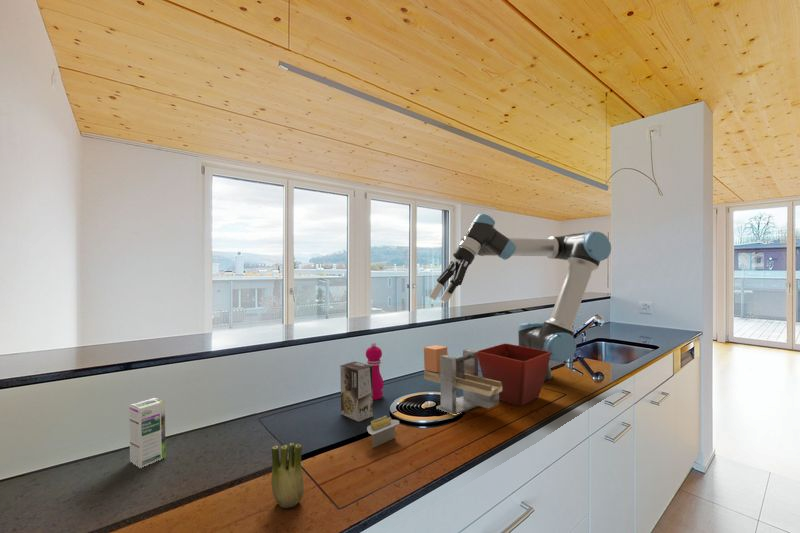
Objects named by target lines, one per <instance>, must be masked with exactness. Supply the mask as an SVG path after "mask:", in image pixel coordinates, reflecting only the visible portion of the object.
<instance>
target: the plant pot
mask: <svg viewBox="0 0 800 533" xmlns="http://www.w3.org/2000/svg"><path fill="white" fill-rule="evenodd" d="M477 351H478V364H479V367H480V371H481V374H482V377H483V378H487V379H491V380H496V381H500V382H502V392H499V401H503V402H505V403H509V404H512V405H515V406H519V407H522V406H524V405H527V404H529V403H530V402H532V401H534V400H536V399H538V398H540V394H541V391H542V388H543V386H544V383H545V381H546V380H545V377H546V373H547V369H548V365H549V366H550V361H551V360H550V352H549V351H544V350H539V349H533V348H528V347H523V346H519V345H518V344H517V345H516V344H511V343H500V344H498V345H495V346H490V347H487V348H483V349H480V350H477ZM544 380H545V381H544Z"/></svg>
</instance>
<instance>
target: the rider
mask: <svg viewBox="0 0 800 533" xmlns="http://www.w3.org/2000/svg"><path fill="white" fill-rule="evenodd" d="M442 355H447V356H449V355H448V346H443V345H437V344H433V345H428V346H426V347H425V346H424V347H423V358H424V359H423V362H424V370H428V371H432V372H436V373H440V356H442Z"/></svg>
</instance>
